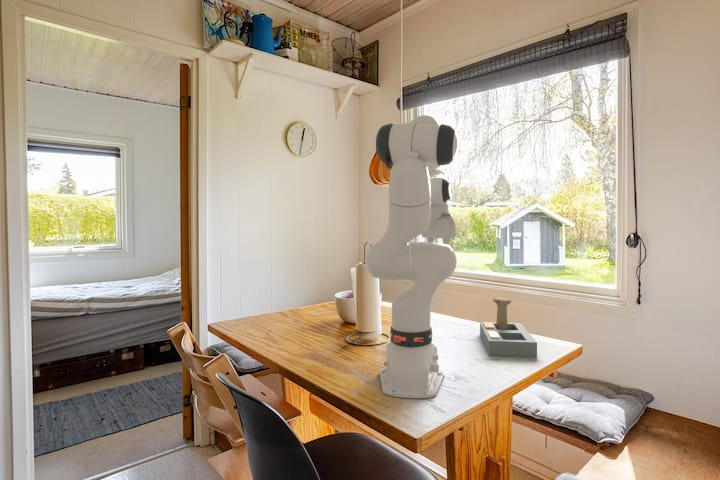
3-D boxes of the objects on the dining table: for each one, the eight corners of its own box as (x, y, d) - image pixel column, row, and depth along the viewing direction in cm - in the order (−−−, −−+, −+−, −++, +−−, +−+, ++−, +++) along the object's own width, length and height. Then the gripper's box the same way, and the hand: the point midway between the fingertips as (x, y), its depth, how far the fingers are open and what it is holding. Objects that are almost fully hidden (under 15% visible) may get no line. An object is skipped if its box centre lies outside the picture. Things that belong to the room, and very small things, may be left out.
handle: (505, 341, 147) (505, 301, 146) (490, 337, 152) (490, 298, 152) (513, 339, 150) (513, 299, 149) (498, 335, 155) (498, 296, 154)
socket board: (536, 357, 130) (537, 340, 130) (488, 355, 133) (488, 338, 132) (520, 336, 154) (520, 321, 153) (480, 334, 156) (480, 320, 156)
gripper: (459, 212, 144) (460, 251, 144) (431, 214, 163) (432, 248, 164) (444, 212, 142) (445, 251, 142) (417, 214, 161) (418, 249, 162)
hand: (438, 250), depth 153 cm, fingers open, 8 cm apart
